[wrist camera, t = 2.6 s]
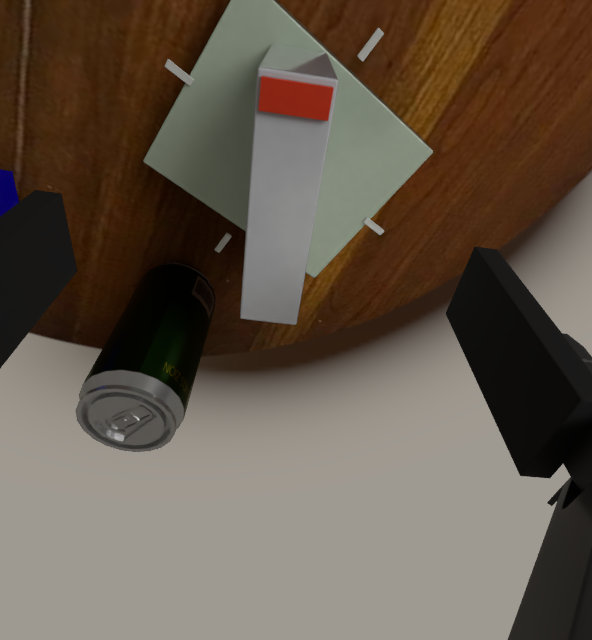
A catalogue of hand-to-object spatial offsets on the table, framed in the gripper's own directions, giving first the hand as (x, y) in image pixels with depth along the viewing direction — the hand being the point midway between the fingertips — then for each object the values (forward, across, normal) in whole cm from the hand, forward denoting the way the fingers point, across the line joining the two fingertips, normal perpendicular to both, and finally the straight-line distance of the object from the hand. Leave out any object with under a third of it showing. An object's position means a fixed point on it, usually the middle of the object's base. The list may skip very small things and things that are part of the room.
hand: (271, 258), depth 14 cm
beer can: (+14, -6, -11) cm, 19 cm away
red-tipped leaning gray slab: (+11, 0, 0) cm, 11 cm away
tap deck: (+14, 0, 0) cm, 14 cm away
